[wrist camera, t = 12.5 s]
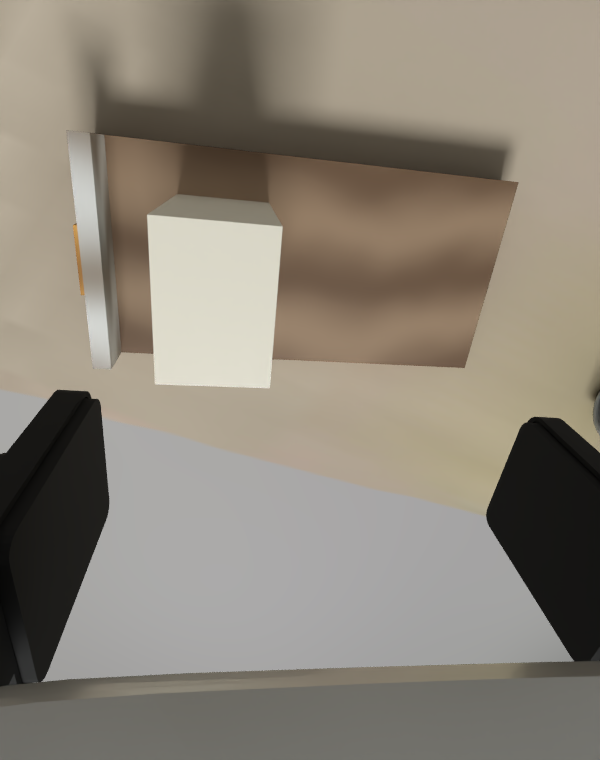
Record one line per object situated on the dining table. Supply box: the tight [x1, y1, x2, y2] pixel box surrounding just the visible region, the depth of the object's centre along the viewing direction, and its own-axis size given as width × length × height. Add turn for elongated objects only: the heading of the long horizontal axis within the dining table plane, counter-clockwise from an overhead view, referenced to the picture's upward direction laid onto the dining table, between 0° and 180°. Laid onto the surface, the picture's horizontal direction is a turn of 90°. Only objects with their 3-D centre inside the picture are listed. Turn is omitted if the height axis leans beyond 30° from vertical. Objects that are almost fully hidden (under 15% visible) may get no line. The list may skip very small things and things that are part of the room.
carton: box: [147, 194, 283, 388], centre depth 22 cm, size 5×7×9 cm
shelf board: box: [66, 130, 518, 369], centre depth 27 cm, size 12×24×4 cm, turn 84°
